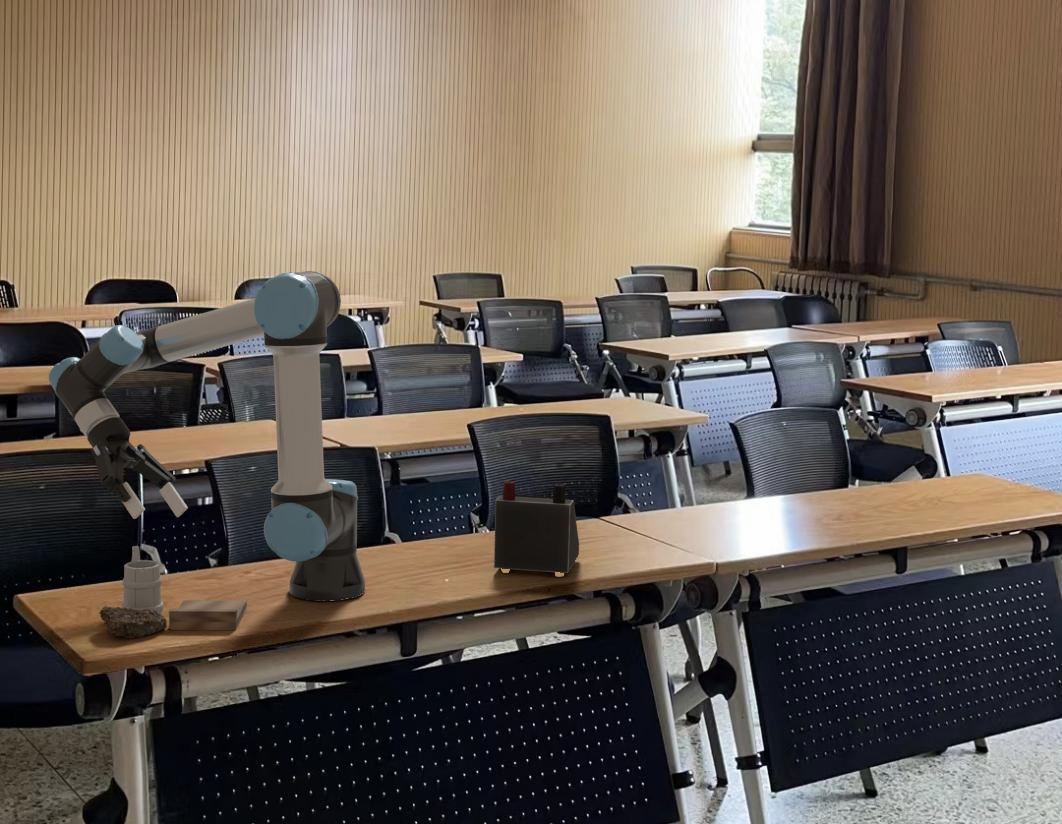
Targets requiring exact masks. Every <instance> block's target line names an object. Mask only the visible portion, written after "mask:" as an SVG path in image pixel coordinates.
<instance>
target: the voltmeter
mask: <svg viewBox="0 0 1062 824" xmlns="http://www.w3.org/2000/svg"><path fill="white" fill-rule="evenodd" d="M552 493H553V494H552V496H540V495H538V496H537V495H526V494H525V495H524V494H516V482H515V481H510V480H506V481H503V490H502V495H499V496H498V497H497V498H496V499H495V506H494V507H495V509H494V510H495V512H494V513H495V514H494V515H495V516H494V555H493V568H494V569H500V568H502V569H511V570H520V571H532V572H534V571H535V572H548V573H549V572H550V573H554V572H560V573H565V574H569V573H570V571H569V570H571V569H572V568H573V566H574V564H575V562H576V561H577V559H578V557H579V556H580V540H579V539H580V538H579V531H578V524H577V517H576V516H577V515H576V509H575V502H574V501H575V500H574V499H568V497H566V485H565V484H561V483H560V484H559V483H556V484H553V492H552ZM578 555H579V556H578ZM576 558H577V559H576ZM575 560H576V561H575ZM572 565H573V566H572ZM571 567H572V568H571ZM568 572H569V573H568Z"/></svg>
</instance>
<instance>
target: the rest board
mask: <svg viewBox="0 0 1062 824" xmlns="http://www.w3.org/2000/svg"><path fill="white" fill-rule="evenodd" d="M247 602H248V601H247V600H199V599H198V600H196V599H195V600H188V599H187V600H185V599H184V600H182V602H181V603H180V605H179V606H178V608H170V609H169V610H168V621H169V622H168V623H169V624H168V625H169V626H168V627H169V629H171V630H170V631H173V630H174V631H175V630H176V631H181V630H182V631H192V630H193V631H236V630H237V629H238V627H239V625H240V622H241V621H242V618H243V617H244V615H245V613H244V612H246V611H247V609H246V608H247V606H248V605H247V604H248V603H247ZM245 610H246V611H245ZM243 614H244V615H243Z"/></svg>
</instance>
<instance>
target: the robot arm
mask: <svg viewBox="0 0 1062 824" xmlns="http://www.w3.org/2000/svg"><path fill="white" fill-rule="evenodd" d="M341 298H342V297H341V294H340V291H339V288H338V287H337V285H336V283H335V281H333V279H331V278H330V277H329V276H327V275H325V274H323V273H321V272H319V271H318V272H317V271H312V270H311V271H310V270H309V271H302V272H301V271H300V272H287V273H286V272H285V273H280V274H278V275H276V276H273V277H271V278H269V279H268V280H267V281H265V282H264V283H263V284H262V285H261V287H259V289H258V291H257V293H256V296H255V298H252V299H248V300H245V301H240V302H237V303H234V304H230V305H227V306H223V307H220V308H216V309H214V310H209V311H207V312H206V311H205V312H202V313H199V314H195V315H192V316H189V317H185V318H183V319H179V320H175V321H173V322H172V321H171V322H168V323H166V324H161V325H159V326H154V327H151V328H147V329H145V330H144V329H143V330H141V331H137V332H135V331H134V330H132V329H131V328H129V327H127V326H124V325H122V324H118V325H114V326H113V327H111V328H110V329H109V330H108V331H107V332H105V333H103V334H102V336H101V337H100V338H99V339H98V341H97V342H96V343H94V344H93V346H92V347H90V349H89V350H88V351H87V352H86V353H85V354H84V355H83V356H82V358H79V357H77V356H76V357H75V356H73V357H72V356H71V357H67V358H65V359H63V360H61V361H60V362H58V363H56V364H55V365H54V366H53V367H52V368H50V370H49V374H48V382H49V383H50V386H51V387H52V389H53V390H54V392H55V395H56V397H57V398H58V399H59V400H60V401H61V403H62V404H63V406H64V408H66V409H67V411H68V413H69V414H70V415H71V416H72V418H73V420H74V422H75V423H76V424H77V426H78V428H79V431H80V432H81V433H82V434H83V435H84V437H86V439H87V441H88V443H89V444H90V446H91V447H92V449H91V450H90V453H91V455H92V456H93V458H94V461H95V465H96V468H97V473H98V476H99V477H98V478H99V479H100V484H101V486H102V487H103V488H105V489H106V491H107V492H108V493H110V494H112V493H113V492H114V493H116V495H117V496H118V498H119V499H120V501H121V503H122V504H123V506H124V507H125V508H126V511H128V513H129V515H130V516H131V517H132V519H134V520H135V519H137V518H138V517H140V515H142V513H143V512H144V511H146V508H145V507H144V505H143V503H142V502H141V501H140V499H139V497H138V496H137V494H136V493H135V492H134V490H133V489H132V487H131V485H130V484H129V483H128V482H127V481H125V482H124V468H126V469H130V470H131V471H132V472H137V473H139V474H140V475H142V476H143V477H144V478H145V479H147V480H148V481H149V482H151V483H152V484H153V485H155V486H156V487H157V488H159V491H158V492H159V493H160V494H161V496H162V498H163V499H164V500H165V502H166V503H167V504H168V507H169V508H170V510H171V511H172V512H173V514H174V516H175V517H176V518H179V517H180V516H181V515H183V514H184V513H185V512H186V511H187V510H188V509H189V507H188V505H187V504H186V503H185V501H184V499H183V498H182V497H181V495H180V494H179V493H178V491H177V490H176V488H175V487H174V485H173V483H174V482H175V481H176V479H177V478H176V477H175V476H174V475H173V474H172V473H171V472H170V471H169V469H167V468H166V467H165V466H164V465H162V464H161V462H159V461H158V459H156V457H154V456H153V455H152V454H151V453H150V452H149V451H148V449H147V448H146V447H145V445H143V444H142V443H139V444H138V445H137V446H134V445H133V444H132V443H131V442H130V437H131V431H130V429H129V428H128V426H127V425H126V423H125V422H124V420H123V419H122V418H121V417H120V414H119V412H118V411H117V410H116V408H115V407H114V406H113V403H112V402H111V401H110V399H108V397H107V395H106V393H105V391H106V390H107V389H108V388H109V387H111V385H112V384H113V383H114V382H115V381H116V380H117V379H119V378H120V377H121V376H122V375H123V374H127V373H132V372H136V371H137V372H138V371H140V370H144V369H145V370H147V369H151V368H152V369H153V368H157V367H158V366H160V365H165V364H168V363H170V362H173V361H174V362H175V361H178V360H180V359H181V360H182V359H184V358H188V357H191V356H196V355H198V354H201V353H206V352H209V351H213V350H218V349H221V348H223V347H227V346H231V345H234V344H238V343H243V342H246V341H248V340H249V341H250V340H253V339H256V338H260V337H263V341H264V343H263V344H264V348H265V349H267V350H268V351H269V352H270V353H271V355H272V356H273V377H274V378H273V379H274V402H275V423H276V425H275V427H276V448H277V449H276V451H277V452H276V453H277V473H278V479H277V481H276V483H275V484H274V485H273V486H272V487H271V489H270V495H271V497H270V499H271V500H270V501H271V502H270V503H271V504H270V505H271V510H270V511H269V512H268V514H267V516H266V518H265V521H264V523H263V524H264V525H263V536H264V539H265V541H266V543H267V545H268V547H269V548H270V549H271V551H272V552H274V553H275V554H276V555H277V556H278V557H280V558H282V559H284V560H286V561H290V562H293V563H294V562H295V564H294V568H293V570H292V573H291V576H290V580H289V594H290V595H291V596H292V595H293V596H292V597H295V598H297V599H300V598H301V599H300V600H304V599H306V600H305V601H311V600H325V601H324V602H331V601H330V600H340V601H342V600H341V599H346V598H352V597H355V598H357V597H356V596H358V595H360V594H362V593H363V594H365V592H366V580H365V577H364V573H363V570H362V567H361V564H360V563H361V562H360V561H359V557H358V554H357V552H358V550H357V543H358V541H357V539H358V535H357V534H358V533H357V532H358V531H357V529H358V500H359V496H358V490H357V485H356V483H354V482H353V481H350V480H344V479H333V478H332V479H330V478H326V477H325V465H324V441H323V439H324V438H323V414H322V411H323V410H322V391H321V389H322V386H321V365H320V364H321V363H320V353H321V352H322V351H323V350H324V349H325V347H326V346H327V345H328V332H327V331H328V330H327V329H328V327H329V326H330V325H332V323H333V322H334V321H335V320H336V319H337V318H338V315H339V313H340V310H341V306H342V305H341V304H342V303H341V302H342V301H341ZM364 591H365V592H364ZM363 594H362V595H363ZM360 596H361V595H360ZM358 597H359V596H358ZM307 599H308V600H307ZM352 599H353V598H352Z"/></svg>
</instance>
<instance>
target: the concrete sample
mask: <svg viewBox="0 0 1062 824" xmlns="http://www.w3.org/2000/svg"><path fill="white" fill-rule="evenodd" d="M99 615H100V618H101V620H102V621H103V623H104V624H105V626H106V627H107V631H108V634H109V635H112V636H114V637H118V636H121V637H123V638H126V639H128V638H129V639H135V638H134V637H139V638H141V637H145V636H146V635H148V636H149V635H152V634H154V633H157V632H161V631H162V630H165V629H167V627H168V625H167V622H168V621H167V618H165V616H164V615H163V614H162V615H161V614H157V611H156V610H155V611H154V610H152V609H146V610H136V609H134V610H132V608H129V609H127V608H122V607H121V606H120V607H119V606H118V607H112V606H107V605H105V606H104V607H102V609H100V611H99ZM144 635H145V636H144Z"/></svg>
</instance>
